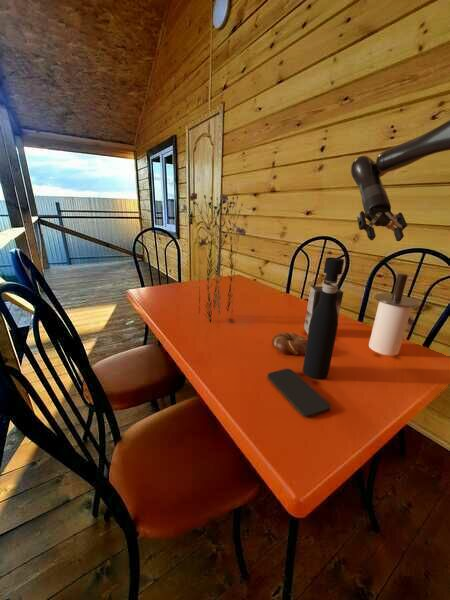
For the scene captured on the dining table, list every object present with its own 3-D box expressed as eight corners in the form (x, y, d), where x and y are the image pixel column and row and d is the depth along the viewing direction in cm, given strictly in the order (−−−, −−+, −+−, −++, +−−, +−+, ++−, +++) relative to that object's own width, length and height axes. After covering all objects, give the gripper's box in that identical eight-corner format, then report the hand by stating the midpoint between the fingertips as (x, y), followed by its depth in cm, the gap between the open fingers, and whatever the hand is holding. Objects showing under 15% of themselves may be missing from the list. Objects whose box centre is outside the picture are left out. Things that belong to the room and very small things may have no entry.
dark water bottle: (297, 370, 67) (314, 257, 58) (311, 362, 71) (329, 255, 61) (318, 383, 63) (340, 262, 53) (333, 374, 66) (356, 260, 56)
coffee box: (308, 336, 87) (315, 291, 81) (303, 327, 93) (309, 285, 87) (335, 337, 86) (344, 292, 81) (328, 329, 93) (336, 286, 87)
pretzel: (311, 343, 82) (313, 333, 81) (310, 360, 72) (312, 349, 71) (274, 336, 85) (275, 326, 84) (268, 352, 76) (269, 341, 75)
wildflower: (223, 304, 114) (227, 196, 99) (256, 322, 96) (266, 193, 81) (176, 313, 102) (173, 192, 87) (203, 336, 84) (204, 188, 69)
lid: (406, 296, 79) (413, 271, 77) (427, 309, 69) (436, 280, 66) (368, 293, 81) (374, 269, 78) (384, 305, 70) (391, 277, 68)
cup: (376, 355, 76) (390, 305, 71) (363, 341, 84) (374, 296, 79) (404, 356, 76) (419, 306, 71) (389, 343, 84) (401, 297, 78)
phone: (305, 416, 51) (265, 373, 64) (305, 419, 51) (265, 376, 64) (333, 406, 54) (289, 367, 67) (332, 409, 54) (289, 370, 67)
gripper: (359, 192, 84) (370, 230, 77) (402, 193, 84) (417, 231, 77) (349, 209, 91) (358, 245, 84) (389, 210, 91) (401, 247, 84)
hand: (386, 239), depth 80 cm, fingers open, 8 cm apart
